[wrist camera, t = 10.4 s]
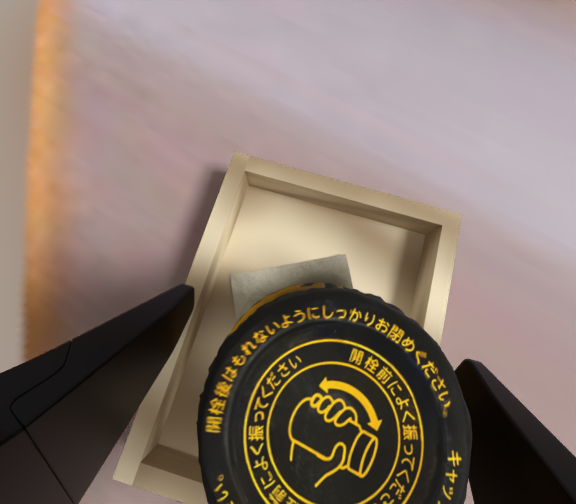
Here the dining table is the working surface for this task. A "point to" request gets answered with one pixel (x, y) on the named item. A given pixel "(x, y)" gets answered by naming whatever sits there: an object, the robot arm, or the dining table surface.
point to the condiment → (329, 398)
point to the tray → (274, 253)
